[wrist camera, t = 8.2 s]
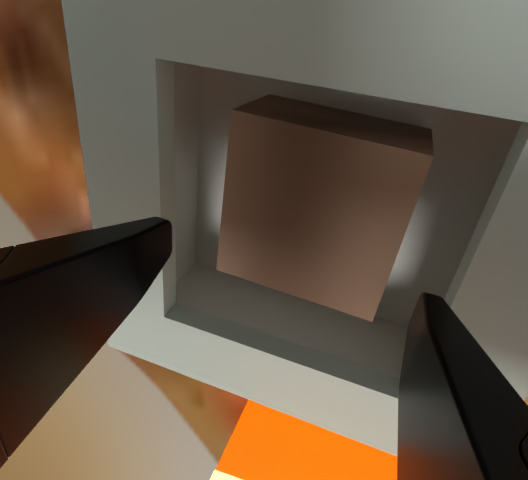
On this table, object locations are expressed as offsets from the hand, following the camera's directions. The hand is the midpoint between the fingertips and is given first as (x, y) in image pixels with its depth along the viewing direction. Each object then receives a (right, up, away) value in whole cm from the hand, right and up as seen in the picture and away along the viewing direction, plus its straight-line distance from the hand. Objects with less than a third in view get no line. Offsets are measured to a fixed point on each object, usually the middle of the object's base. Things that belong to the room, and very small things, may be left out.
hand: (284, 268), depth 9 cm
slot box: (+2, +3, +6) cm, 7 cm away
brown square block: (+2, +2, +4) cm, 5 cm away
